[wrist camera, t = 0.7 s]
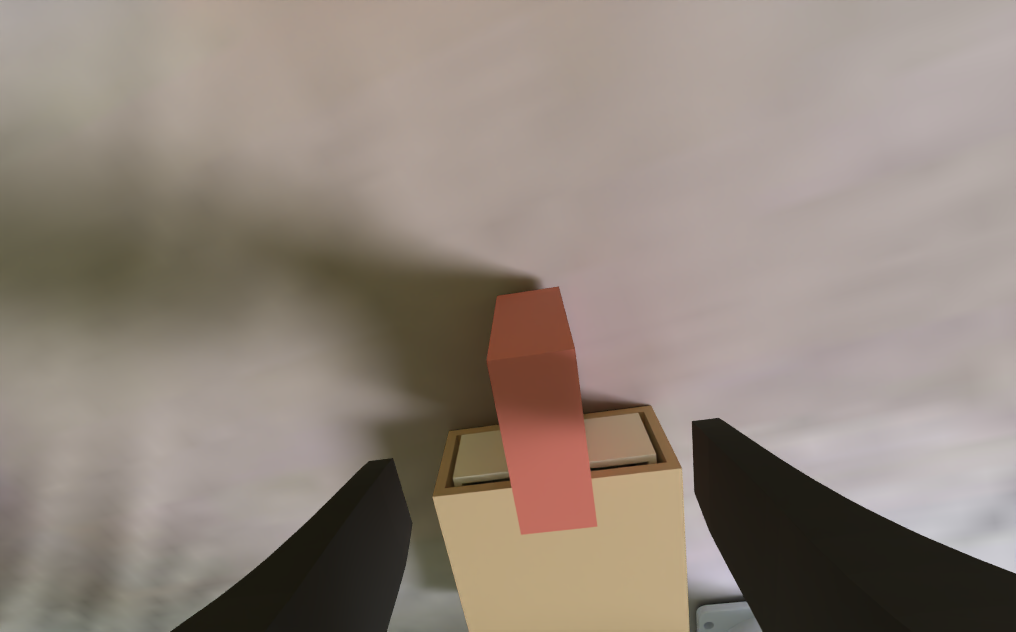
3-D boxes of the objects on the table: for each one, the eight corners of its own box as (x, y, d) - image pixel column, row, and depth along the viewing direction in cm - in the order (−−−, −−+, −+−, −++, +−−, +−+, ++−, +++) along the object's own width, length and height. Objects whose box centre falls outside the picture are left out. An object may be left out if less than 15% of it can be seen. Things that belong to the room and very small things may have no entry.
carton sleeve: (663, 576, 24) (690, 661, 20) (488, 592, 25) (481, 678, 21) (651, 405, 20) (681, 468, 16) (448, 431, 21) (432, 497, 17)
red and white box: (651, 576, 23) (692, 711, 17) (498, 591, 24) (490, 726, 18) (627, 276, 18) (673, 335, 12) (431, 305, 18) (393, 374, 13)
